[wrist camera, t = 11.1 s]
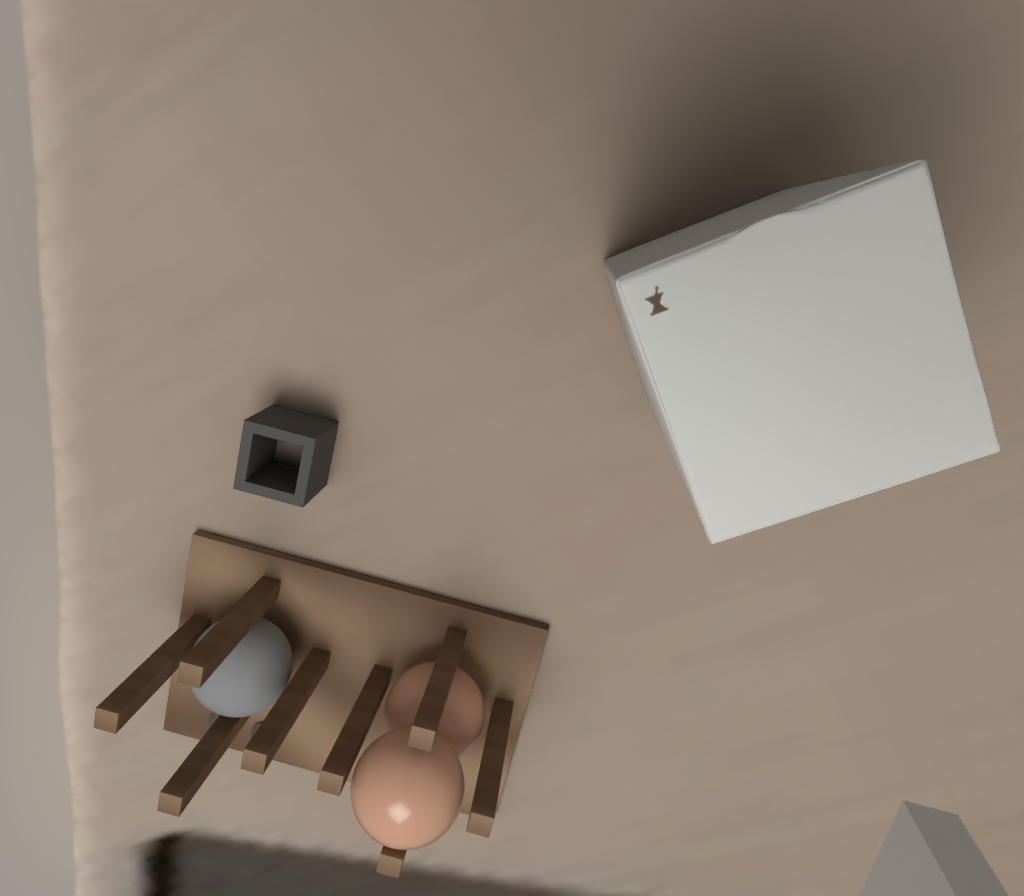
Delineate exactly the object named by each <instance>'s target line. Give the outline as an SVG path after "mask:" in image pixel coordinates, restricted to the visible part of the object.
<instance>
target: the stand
mask: <svg viewBox="0 0 1024 896" xmlns="http://www.w3.org/2000/svg"><path fill="white" fill-rule="evenodd" d="M338 423H339V422H336V421H333V420H329V419H325V418H321V417H318V416H314V415H310V414H306V413H303V412H299V411H295V410H291V409H288V408H284V407H280V406H276V405H271V406H270V407H268V408H266V409H264V410H262V411H260V412H258V413H257V414H255V415H253V416H251V417H249V418H247V419H245V420H244V425H243V431H242V437H241V444H240V450H239V456H238V462H237V468H236V474H235V481H234V487H233V489H237V490H240V491H244V492H248V493H252V494H255V495H259V496H263V497H266V498H270V499H274V500H278V501H281V502H285V503H289V504H292V505H296V506H300V507H304V506H305V505H306V504H307V503H308V502H309V501H310V500H311V499H312V498H313V497H314V496H315V495H317V494H318V493H319V492H320V491H321V490H322V489H323V488H324V487H325V486H326V485H327V479H328V474H329V469H330V464H331V459H332V454H333V449H334V444H335V438H336V433H337V428H338ZM277 440H281V441H284V442H288V443H292V444H296V445H299V446H303V451H302V457H301V462H300V468H296V467H293V466H289V465H285V464H281V463H278V462H274V461H273V460H274V454H275V449H276V443H277Z"/></svg>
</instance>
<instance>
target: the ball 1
mask: <svg viewBox="0 0 1024 896" xmlns="http://www.w3.org/2000/svg"><path fill="white" fill-rule="evenodd" d="M218 622H219V621H218ZM218 622H216V623H214V624H213V625H211V626H210V627H209V628H208V629H207V630H206V631H204V632H203V634H202V635H201V636H200V637H199V639H198V640H197V641H196V643H195V645H196V644H197V643H198V642H199V641H200V640H201V639H202V638H203V637H204V636H205V635H206V634H207V633H208V632H209V631H210V630H211V629H212V628H213V627H214V626H215V625H216V624H217V623H218ZM195 645H194V646H195ZM292 668H293V656H292V650H291V647H290V644H289V642H288V639H287V638H286V636H285V635H284V633H283V632H282V631H281V630H280V629H279V628H278V627H277V626H276V625H275V624H273V623H272V622H270V621H269V620H267V619H264V618H262V617H261V618H260V619H259V620H258V621H257V623H256V624H255V625H254V626H253V627H252V628H251V630H250V631H249V632H248V633H247V634H246V635H245V637H244V638H243V639H242V640H241V641H240V642H239V644H238V645H237V646H236V647H235V648H234V649H233V650H232V652H231V653H230V654H229V655H228V656H227V657H226V659H225V660H224V661H223V662H222V663H221V664H220V666H219V667H218V668H217V669H216V670H215V671H214V673H213V674H212V675H211V676H210V677H209V678H208V679H207V681H206V682H205V683H204V684H203V685H202V686H201V688H196V687H193V686H191V688H192V691H193V693H194V695H195V696H196V698H197V699H198V700H199V701H200V702H201V703H202V704H203V705H204V706H205V707H206V708H207V709H209V710H211V711H212V712H214V713H216V714H219V715H222V716H226V717H247V716H250V715H254V714H257V713H259V712H261V711H263V710H265V709H266V708H268V707H269V706H271V705H272V704H273V703H274V702H275V701H276V700H277V699H278V698H279V697H280V695H281V694H282V692H283V691H284V689H285V688H286V686H287V685H288V683H289V680H290V677H291V673H292Z"/></svg>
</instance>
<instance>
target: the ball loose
mask: <svg viewBox="0 0 1024 896" xmlns="http://www.w3.org/2000/svg"><path fill="white" fill-rule="evenodd" d="M411 729H412V727H406V728H399V729H395V730H392V731H390V732H387V733H385V734H383V735H382V736H380V737H378V738H377V739H376V740H375V741H373V742H372V743H371V744H370V745H369V746H368V747H367V749H366V750H365V751H364V752H363V754H362V755H361V757H360V758H359V760H358V762H357V764H356V767H355V769H354V772H353V776H352V781H351V803H352V807H353V811H354V814H355V816H356V818H357V821H358V823H359V824H360V826H361V827H362V828H363V830H364V831H365V832H366V833H367V834H368V835H369V836H370V837H371V838H372V839H373V840H375V841H376V842H378V843H380V844H381V845H384V846H386V847H389V848H393V849H397V850H412V849H418V848H421V847H424V846H427V845H429V844H431V843H433V842H434V841H436V840H437V839H439V838H440V837H441V836H442V835H444V834H445V833H446V832H447V831H448V829H449V828H450V827H451V826H452V824H453V823H454V821H455V820H456V818H457V816H458V814H459V812H460V809H461V806H462V803H463V798H464V792H465V780H464V773H463V769H462V765H461V763H460V760H459V758H458V756H457V754H456V753H455V751H454V750H453V748H452V747H451V746H450V745H449V744H448V743H447V742H446V741H445V740H444V739H443V738H442V737H440V736H439V735H437V734H436V736H435V739H434V743H433V746H432V749H431V752H428V751H424V750H421V749H417V748H413V747H410V746H407V745H408V741H409V737H410V733H411Z"/></svg>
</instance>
